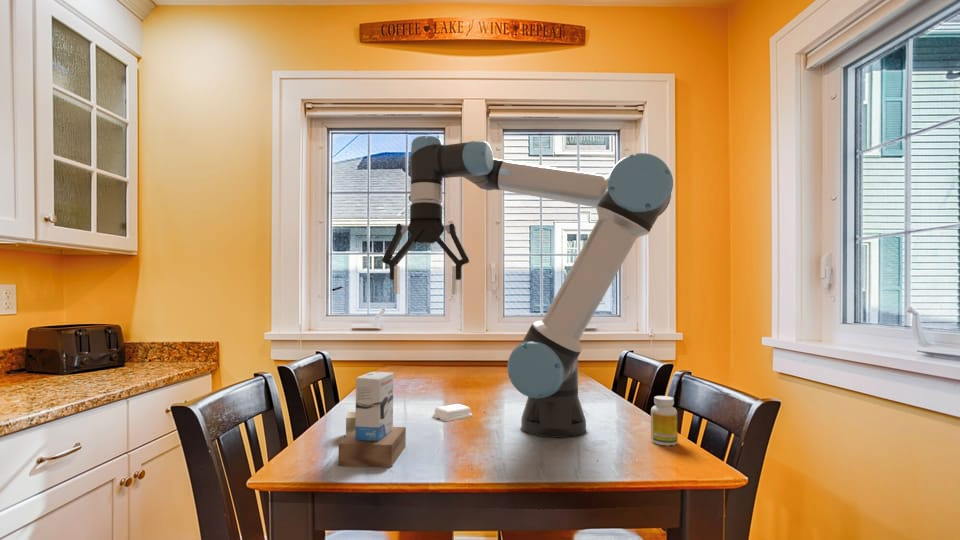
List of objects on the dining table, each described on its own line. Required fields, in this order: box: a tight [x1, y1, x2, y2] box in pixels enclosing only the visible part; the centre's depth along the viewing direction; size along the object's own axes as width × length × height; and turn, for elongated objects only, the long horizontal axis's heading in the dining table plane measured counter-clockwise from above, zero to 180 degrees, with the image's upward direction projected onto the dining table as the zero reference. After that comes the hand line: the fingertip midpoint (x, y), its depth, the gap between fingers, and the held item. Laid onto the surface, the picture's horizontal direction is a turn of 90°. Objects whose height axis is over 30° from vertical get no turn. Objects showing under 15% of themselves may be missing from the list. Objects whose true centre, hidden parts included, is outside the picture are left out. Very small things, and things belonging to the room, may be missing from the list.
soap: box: [432, 403, 473, 422], centre depth 127 cm, size 9×7×3 cm
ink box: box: [355, 371, 395, 441], centre depth 97 cm, size 8×5×12 cm, turn 170°
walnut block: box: [337, 426, 407, 468], centre depth 96 cm, size 10×12×4 cm
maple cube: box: [345, 411, 356, 438], centre depth 109 cm, size 5×5×5 cm
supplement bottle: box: [650, 395, 679, 447], centre depth 106 cm, size 5×5×10 cm
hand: (425, 294), depth 114 cm, fingers open, 13 cm apart
